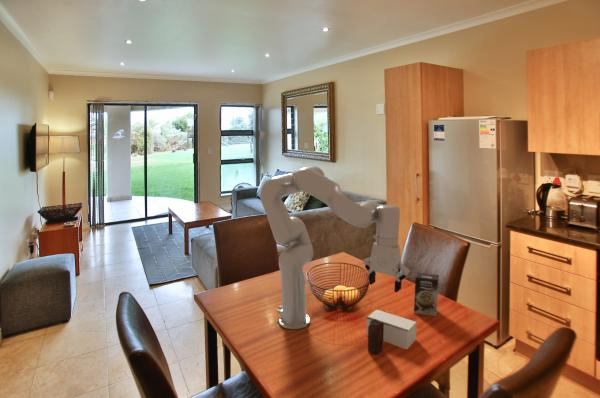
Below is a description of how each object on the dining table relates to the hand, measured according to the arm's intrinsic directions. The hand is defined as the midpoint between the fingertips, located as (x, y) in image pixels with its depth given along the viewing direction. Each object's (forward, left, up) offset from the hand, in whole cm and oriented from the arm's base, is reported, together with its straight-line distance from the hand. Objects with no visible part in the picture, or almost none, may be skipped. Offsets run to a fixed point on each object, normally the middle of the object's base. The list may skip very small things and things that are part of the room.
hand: (384, 287), depth 128 cm
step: (+1, +5, -21) cm, 22 cm away
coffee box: (+4, +32, -22) cm, 38 cm away
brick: (0, -4, -16) cm, 16 cm away
